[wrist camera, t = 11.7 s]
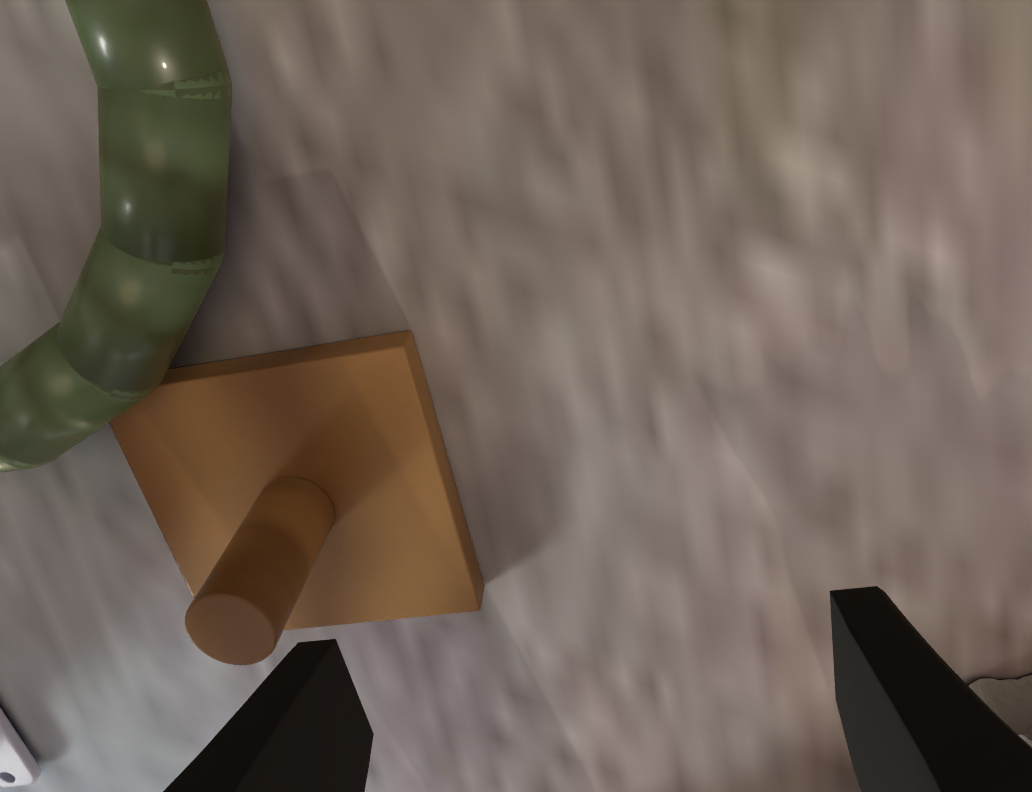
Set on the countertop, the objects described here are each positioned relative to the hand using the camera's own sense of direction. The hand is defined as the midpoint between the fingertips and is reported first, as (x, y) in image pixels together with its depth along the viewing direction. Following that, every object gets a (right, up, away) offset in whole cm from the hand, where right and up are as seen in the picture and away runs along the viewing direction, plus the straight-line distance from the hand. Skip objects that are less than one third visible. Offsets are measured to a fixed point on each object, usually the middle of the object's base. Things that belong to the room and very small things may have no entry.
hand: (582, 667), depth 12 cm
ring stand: (-7, +1, +11) cm, 13 cm away
